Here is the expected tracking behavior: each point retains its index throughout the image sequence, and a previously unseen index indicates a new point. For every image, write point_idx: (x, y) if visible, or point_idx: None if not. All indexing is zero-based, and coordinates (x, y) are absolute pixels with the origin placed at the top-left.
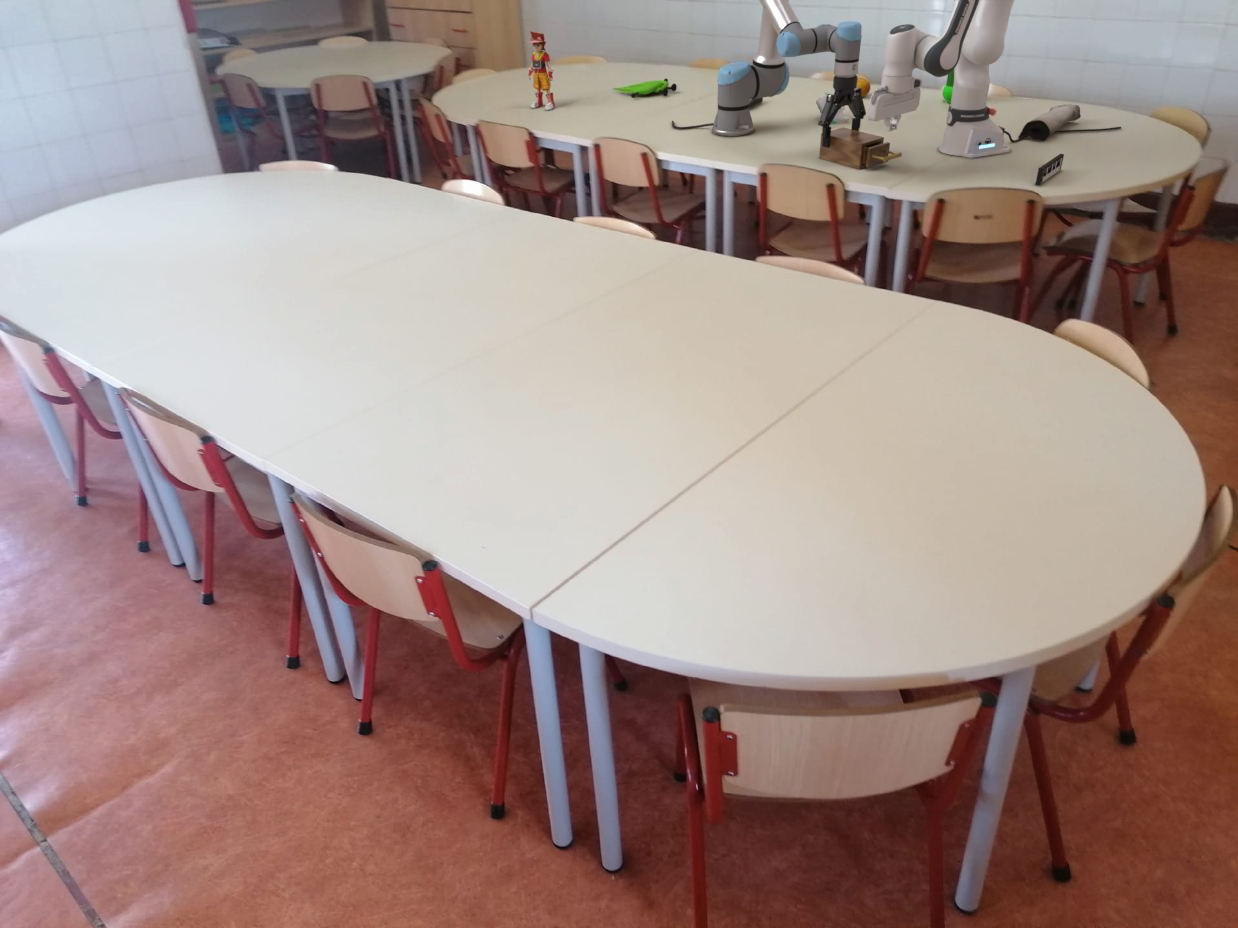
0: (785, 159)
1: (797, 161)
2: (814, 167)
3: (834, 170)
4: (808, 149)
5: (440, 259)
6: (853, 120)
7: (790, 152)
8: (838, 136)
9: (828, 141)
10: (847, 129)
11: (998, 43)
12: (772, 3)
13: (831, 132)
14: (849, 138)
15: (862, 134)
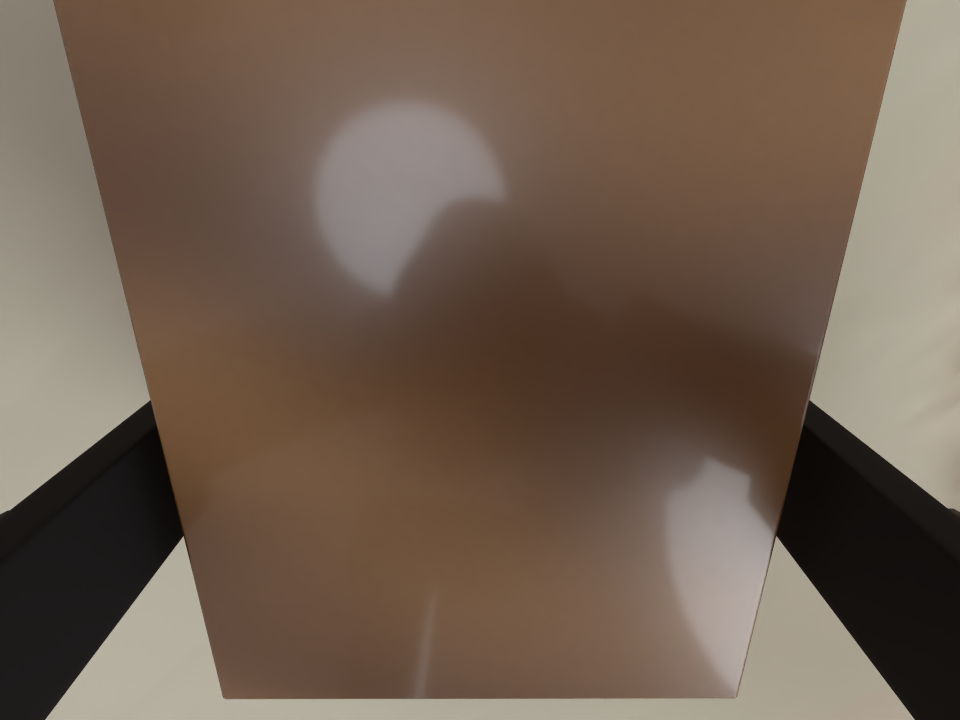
0: (836, 630)
1: None
2: (928, 305)
3: (923, 49)
4: None
5: None
6: (10, 717)
7: (646, 714)
8: (736, 407)
9: (855, 443)
10: (250, 591)
11: None
12: None
13: (590, 641)
14: (742, 117)
15: (250, 139)
